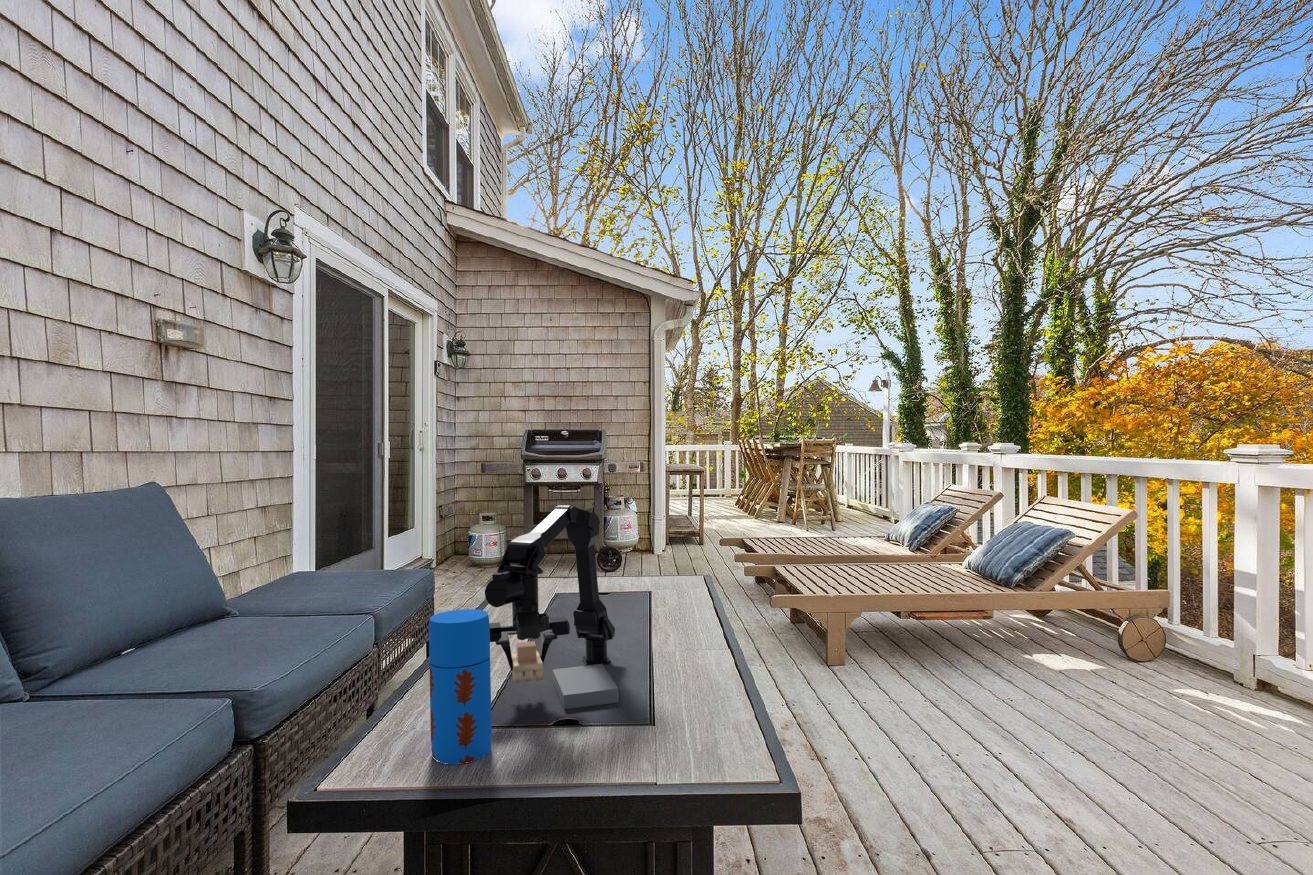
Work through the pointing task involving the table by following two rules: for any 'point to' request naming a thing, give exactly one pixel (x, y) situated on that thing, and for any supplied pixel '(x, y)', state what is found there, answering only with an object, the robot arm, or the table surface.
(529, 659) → the block
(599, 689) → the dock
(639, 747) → the table surface
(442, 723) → the thermos
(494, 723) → the table surface
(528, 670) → the tray
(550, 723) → the table surface
